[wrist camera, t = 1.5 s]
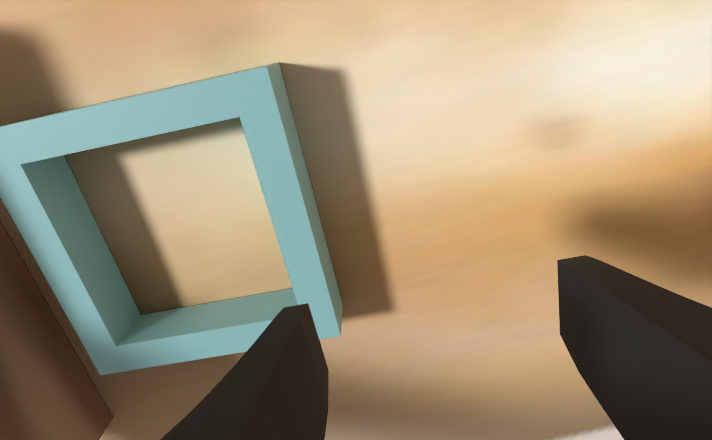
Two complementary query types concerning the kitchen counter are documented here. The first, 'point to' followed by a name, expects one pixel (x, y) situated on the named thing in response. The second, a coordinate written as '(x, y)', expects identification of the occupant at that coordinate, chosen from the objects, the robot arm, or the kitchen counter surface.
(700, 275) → the kitchen counter surface
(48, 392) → the backstop board
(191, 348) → the collar block
